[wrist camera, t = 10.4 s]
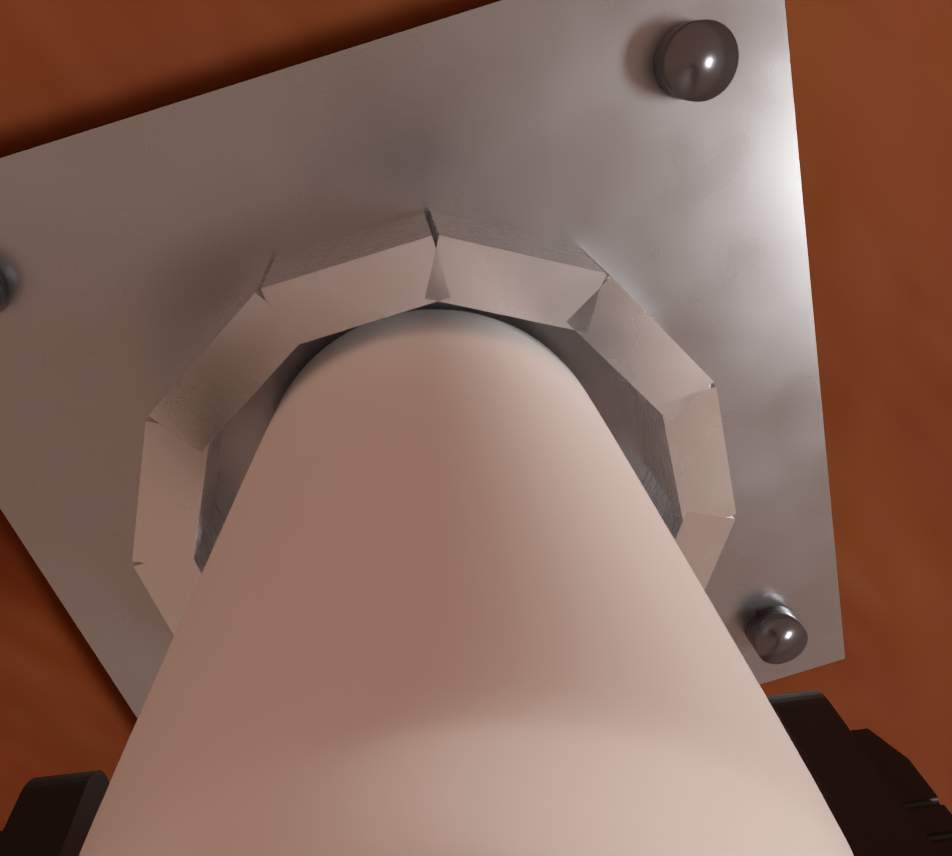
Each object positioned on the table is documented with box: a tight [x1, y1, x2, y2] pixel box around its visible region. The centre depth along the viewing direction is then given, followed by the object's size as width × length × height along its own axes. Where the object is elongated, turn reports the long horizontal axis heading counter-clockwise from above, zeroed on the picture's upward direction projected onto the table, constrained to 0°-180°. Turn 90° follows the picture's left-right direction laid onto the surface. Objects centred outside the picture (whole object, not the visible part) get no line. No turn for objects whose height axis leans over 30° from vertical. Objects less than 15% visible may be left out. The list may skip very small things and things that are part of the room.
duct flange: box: [0, 0, 845, 719], centre depth 16 cm, size 16×16×3 cm
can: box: [79, 309, 854, 856], centre depth 10 cm, size 6×6×12 cm
